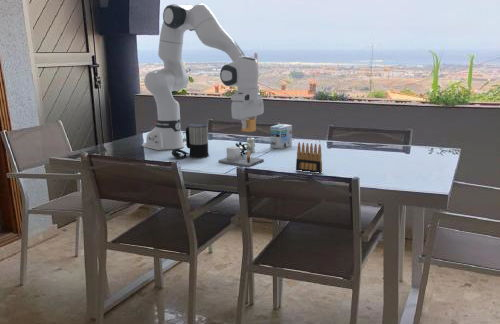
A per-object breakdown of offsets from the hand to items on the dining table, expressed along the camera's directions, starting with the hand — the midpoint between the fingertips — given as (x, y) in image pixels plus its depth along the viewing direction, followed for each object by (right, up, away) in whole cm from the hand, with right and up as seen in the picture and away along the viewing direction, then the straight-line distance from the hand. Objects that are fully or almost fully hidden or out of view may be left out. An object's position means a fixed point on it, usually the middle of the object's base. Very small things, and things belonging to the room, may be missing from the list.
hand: (248, 127), depth 202 cm
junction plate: (-3, -15, +6) cm, 16 cm away
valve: (-1, -11, +23) cm, 26 cm away
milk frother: (-27, -13, +17) cm, 34 cm away
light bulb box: (+16, -7, +37) cm, 42 cm away
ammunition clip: (+24, -19, -11) cm, 33 cm away
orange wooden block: (0, -2, 0) cm, 2 cm away
